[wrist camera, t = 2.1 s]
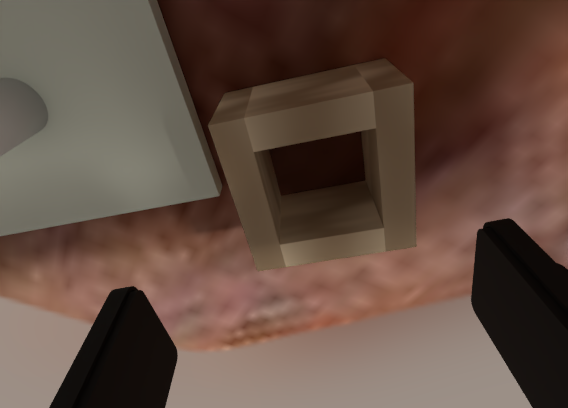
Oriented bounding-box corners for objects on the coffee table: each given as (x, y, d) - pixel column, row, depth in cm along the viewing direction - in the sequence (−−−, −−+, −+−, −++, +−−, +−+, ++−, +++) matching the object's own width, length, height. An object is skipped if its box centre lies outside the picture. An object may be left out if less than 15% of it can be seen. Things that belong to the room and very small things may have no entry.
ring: (385, 57, 15) (413, 82, 12) (392, 197, 19) (416, 246, 15) (224, 93, 16) (207, 125, 12) (262, 219, 20) (257, 271, 16)
